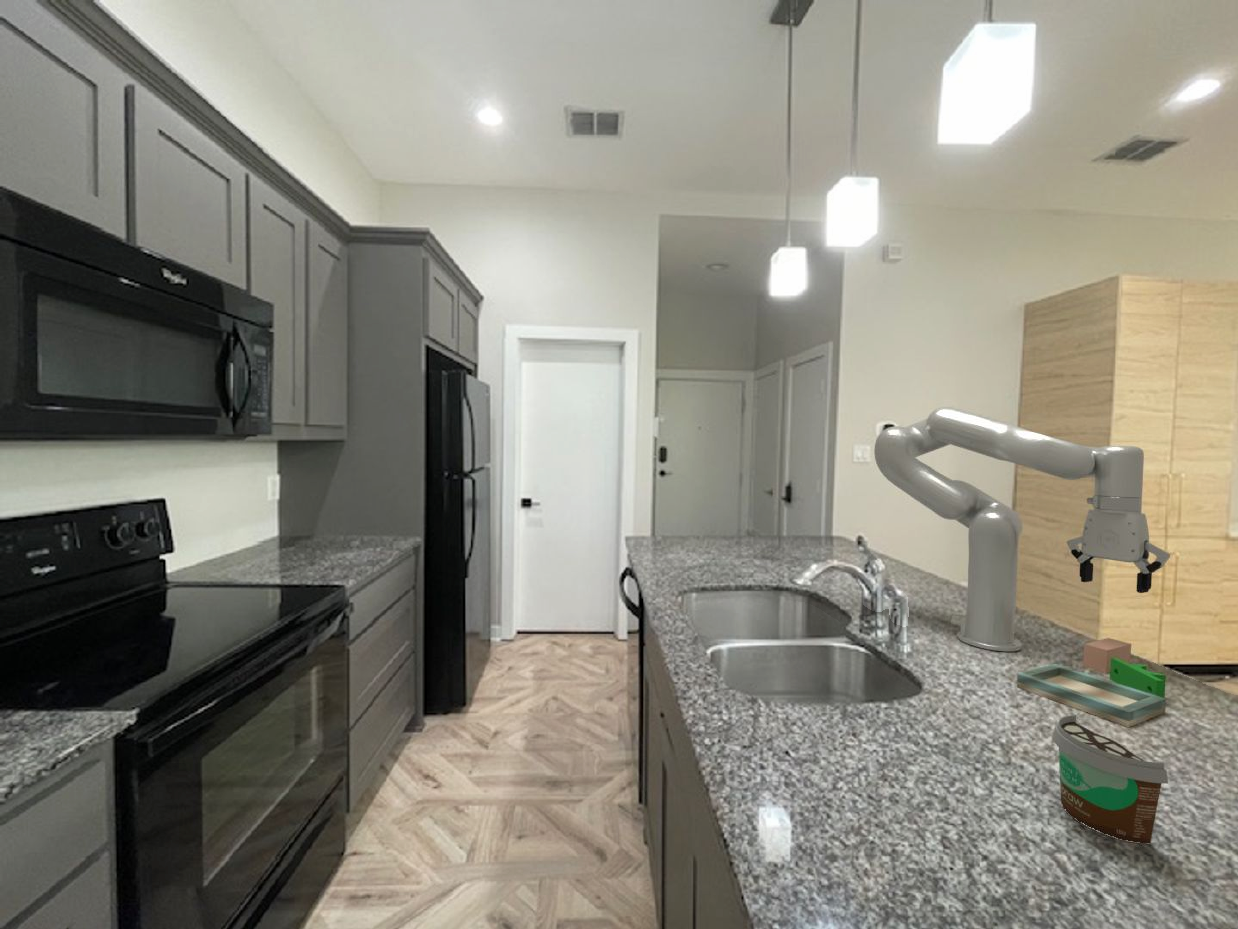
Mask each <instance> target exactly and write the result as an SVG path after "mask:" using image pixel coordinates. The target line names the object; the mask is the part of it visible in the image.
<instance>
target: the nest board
mask: <svg viewBox="0 0 1238 929" xmlns="http://www.w3.org/2000/svg"><path fill="white" fill-rule="evenodd" d="M1016 675H1017V676H1016V687H1017V688H1019V689H1021V690H1024V691H1027V692H1030V693H1033V694H1035V695H1039V696H1041V697H1042V698H1043V697H1044V698H1046V699H1050V700H1052V701H1055V702H1058V703H1060V704H1062V705H1066V706H1068V707H1071V708H1074V709H1077V710H1078V711H1079V710H1080V711H1083V712H1084V711H1085V713H1087V712H1088V713H1087V714H1091V715H1093V716H1095V715H1096V717H1098V718H1101V719H1104V718H1105V719H1104V720H1106V719H1108V720H1107V721H1109V720H1110V721H1109V722H1112V723H1114V724H1118V725H1120V724H1121V725H1120V726H1123V727H1126V728H1130V727H1134V726H1135V725H1138V724H1141V723H1144V722H1147V721H1148V720H1150V718H1151V719H1153V718H1155V717H1158V716H1161V715H1162V714H1165V713H1166V706H1167V705H1166V703H1167V698H1166V697H1164V698H1162V697H1159V696H1156V695H1153V694H1150V693H1146V692H1143V691H1140V690H1137V689H1134V688H1131V687H1127V686H1124V685H1121V684H1118V683H1116V682H1114V681H1112V680H1108V679H1104V678H1101V677H1099V676H1095V675H1092V674H1089V673H1085V672H1083V671H1079V670H1077V669H1073V668H1070V667H1066V666H1063V665H1060V664H1056V663H1051V664H1049V665H1045V666H1043V667H1038V668H1035V669H1030V670H1027V671H1023V672H1019V673H1017V674H1016Z"/></svg>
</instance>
